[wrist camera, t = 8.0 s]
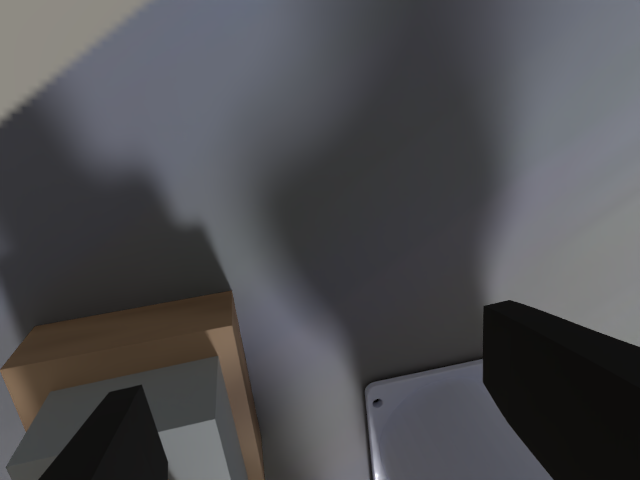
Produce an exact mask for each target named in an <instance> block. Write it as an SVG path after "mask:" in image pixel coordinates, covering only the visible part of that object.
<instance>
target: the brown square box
mask: <svg viewBox="0 0 640 480" xmlns="http://www.w3.org/2000/svg"><path fill="white" fill-rule="evenodd" d="M215 356H218V357H219V361H220V365H221V369H222V374H223V378H224V382H225V386H226V390H227V394H228V398H229V402H230V406H231V411H232V415H233V419H234V423H235V427H236V431H237V435H238V439H239V443H240V447H241V452H242V456H243V460H244V464H245V468H246V472H247V476H248V480H265V476H264V464H263V453H262V441H261V434H260V429H259V424H258V419H257V414H256V409H255V404H254V399H253V394H252V389H251V384H250V379H249V374H248V369H247V364H246V359H245V354H244V349H243V344H242V339H241V334H240V329H239V324H238V319H237V314H236V309H235V304H234V299H233V294H232V291H226V292H221V293H215V294H210V295H204V296H199V297H193V298H188V299H182V300H177V301H171V302H166V303H160V304H155V305H149V306H144V307H138V308H133V309H127V310H122V311H116V312H111V313H105V314H100V315H94V316H89V317H83V318H77V319H72V320H66V321H61V322H55V323H50V324H44V325H39V326H35V327H34V328H33V329H32V330H31V332H30V333H29V334H28V335H27V337H26V338H25V339H24V340H23V342H22V343H21V344H20V345H19V347H18V348H17V349H16V350H15V352H14V353H13V354H12V355H11V357H10V358H9V359H8V360H7V362H6V363H5V364H4V365H3V367H2V368H1V369H0V372H1V374H2V376H3V379H4V381H5V383H6V386H7V388H8V391H9V393H10V395H11V398H12V400H13V402H14V405H15V407H16V410H17V412H18V414H19V417H20V419H21V421H22V424H23V426H24V429H25V431H26V432H27V430H28V429H29V427H30V425H31V424H32V422H33V420H34V418H35V417H36V415H37V413H38V412H39V410H40V408H41V407H42V405H43V403H44V401H45V400H46V398H47V396H48V395H49V393H50V392H51V391H56V390H61V389H65V388H70V387H75V386H79V385H84V384H89V383H93V382H98V381H103V380H107V379H112V378H117V377H121V376H126V375H131V374H135V373H140V372H145V371H149V370H154V369H159V368H163V367H168V366H173V365H177V364H182V363H187V362H191V361H196V360H201V359H205V358H210V357H215Z"/></svg>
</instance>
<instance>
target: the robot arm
mask: <svg viewBox="0 0 640 480" xmlns="http://www.w3.org/2000/svg"><path fill="white" fill-rule="evenodd" d="M365 399H366V410H367V421H368V432H369V442H370V453H371V464H372V475H373V480H640V347H638V346H635V345H632V344H629V343H627V342H624V341H621V340H618V339H615V338H613V337H610V336H607V335H605V334H602V333H599V332H596V331H594V330H591V329H588V328H586V327H583V326H581V325H578V324H575V323H573V322H570V321H567V320H565V319H562V318H560V317H557V316H554V315H552V314H549V313H546V312H544V311H541V310H538V309H535V308H533V307H530V306H527V305H524V304H521V303H518V302H514V301H511V300H508V301H503V302H499V303H495V304H490V305H486V306H484V315H483V359H480V360H475V361H471V362H466V363H461V364H456V365H452V366H447V367H442V368H438V369H433V370H428V371H423V372H419V373H414V374H409V375H404V376H400V377H395V378H390V379H386V380H381V381H376V382H373V383H370V384H369V385H368V386H367V387H366V389H365ZM376 399H380V400H379V401H378V402H376V403H373V401H374V400H376ZM38 480H168V460H167V457H166V454H165V452H164V449H163V446H162V443H161V440H160V437H159V434H158V431H157V428H156V425H155V422H154V419H153V416H152V413H151V410H150V407H149V404H148V401H147V398H146V395H145V392H144V389H143V386H142V385H137V386H133V387H129V388H124V389H120V390H115V391H111V392H109V393H108V394H107V395H106V396H105V398H104V399H103V400H102V401H101V402H100V404H99V405H98V406H97V407H96V409H95V410H94V411H93V412H92V414H91V415H90V416H89V417H88V419H87V420H86V421H85V422H84V424H83V425H82V426H81V427H80V429H79V430H78V431H77V433H76V434H75V435H74V436H73V438H72V439H71V440H70V441H69V443H68V444H67V445H66V446H65V447H64V449H63V450H62V451H61V452H60V454H59V455H58V456H57V457H56V458H55V460H54V461H53V462H52V463H51V465H50V466H49V467H48V468H47V469H46V471H45V472H44V473H43V474H42V476H41V477H40V478H39V479H38Z"/></svg>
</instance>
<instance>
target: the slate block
mask: <svg viewBox="0 0 640 480" xmlns="http://www.w3.org/2000/svg"><path fill="white" fill-rule="evenodd" d="M137 385H142V386H143V389H144V392H145V395H146V398H147V401H148V404H149V407H150V410H151V413H152V416H153V419H154V422H155V425H156V428H157V431H158V434H159V437H160V440H161V443H162V446H163V449H164V452H165V454H166V457H167V460H168V479H169V480H248V476H247V472H246V468H245V464H244V460H243V456H242V452H241V447H240V443H239V439H238V435H237V431H236V427H235V423H234V419H233V415H232V411H231V406H230V402H229V398H228V394H227V390H226V386H225V382H224V378H223V374H222V369H221V365H220V361H219V357H218V356H215V357H210V358H205V359H201V360H196V361H191V362H187V363H182V364H177V365H173V366H168V367H163V368H159V369H154V370H149V371H145V372H140V373H135V374H131V375H126V376H121V377H117V378H112V379H107V380H103V381H98V382H93V383H89V384H84V385H79V386H75V387H70V388H65V389H61V390H56V391H51V392H50V393H49V395H48V396H47V398H46V400H45V401H44V403H43V405H42V407H41V408H40V410H39V412H38V413H37V415H36V417H35V418H34V420H33V422H32V424H31V425H30V427H29V429H28V430H27V432H26V434H25V435H24V437H23V439H22V441H21V442H20V444H19V446H18V447H17V449H16V451H15V452H14V454H13V456H12V458H11V459H10V461H9V463H8V464H7V466H6V469H7V471H8V473H9V475H10V477H11V479H12V480H38V479H39V478H40V477H41V476H42V474H43V473H44V472H45V471H46V469H47V468H48V467H49V466H50V465H51V463H52V462H53V461H54V460H55V458H56V457H57V456H58V455H59V454H60V452H61V451H62V450H63V449H64V447H65V446H66V445H67V444H68V443H69V441H70V440H71V439H72V438H73V436H74V435H75V434H76V433H77V431H78V430H79V429H80V427H81V426H82V425H83V424H84V422H85V421H86V420H87V419H88V417H89V416H90V415H91V414H92V412H93V411H94V410H95V409H96V407H97V406H98V405H99V404H100V402H101V401H102V400H103V399H104V398H105V396H106V395H107V394H108V393H109V392H111V391H115V390H120V389H124V388H129V387H133V386H137Z"/></svg>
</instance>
